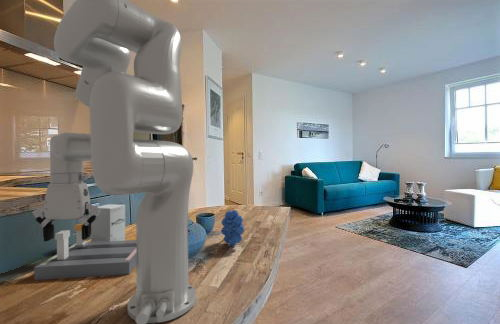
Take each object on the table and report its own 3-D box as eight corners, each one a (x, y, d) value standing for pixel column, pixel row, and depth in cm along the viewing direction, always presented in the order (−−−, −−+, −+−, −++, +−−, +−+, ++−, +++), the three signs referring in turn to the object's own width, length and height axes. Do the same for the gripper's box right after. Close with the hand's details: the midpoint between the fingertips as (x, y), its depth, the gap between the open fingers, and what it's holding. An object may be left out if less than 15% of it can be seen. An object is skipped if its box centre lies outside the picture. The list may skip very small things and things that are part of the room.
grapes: (253, 248, 77) (253, 210, 76) (236, 253, 72) (236, 213, 72) (233, 238, 86) (233, 205, 86) (216, 242, 82) (216, 207, 81)
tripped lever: (83, 247, 68) (83, 224, 68) (73, 247, 68) (73, 225, 68) (88, 244, 71) (88, 222, 71) (79, 244, 70) (79, 222, 70)
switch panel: (129, 274, 59) (129, 234, 59) (34, 279, 56) (34, 238, 56) (148, 249, 76) (148, 217, 76) (76, 252, 73) (76, 220, 73)
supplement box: (109, 247, 77) (109, 208, 77) (90, 246, 79) (89, 207, 79) (126, 240, 84) (125, 204, 84) (107, 239, 86) (107, 203, 86)
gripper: (105, 177, 74) (106, 233, 74) (43, 178, 71) (43, 236, 71) (93, 179, 66) (93, 242, 66) (22, 180, 64) (23, 245, 64)
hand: (67, 239), depth 69 cm, fingers open, 9 cm apart
